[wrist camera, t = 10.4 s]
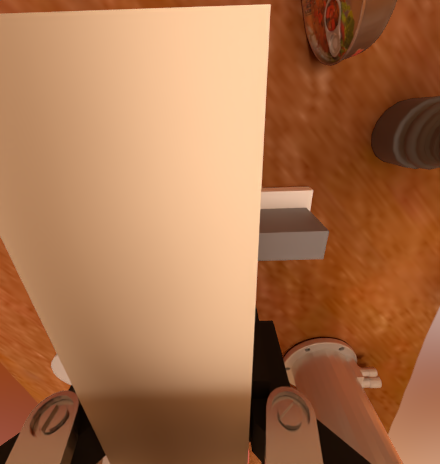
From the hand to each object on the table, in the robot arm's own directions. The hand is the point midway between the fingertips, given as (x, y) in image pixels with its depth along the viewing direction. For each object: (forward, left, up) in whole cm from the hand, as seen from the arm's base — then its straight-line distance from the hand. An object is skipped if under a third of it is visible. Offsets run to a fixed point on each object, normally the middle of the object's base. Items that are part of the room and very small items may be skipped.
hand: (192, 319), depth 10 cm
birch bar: (0, 0, 0) cm, 0 cm away
